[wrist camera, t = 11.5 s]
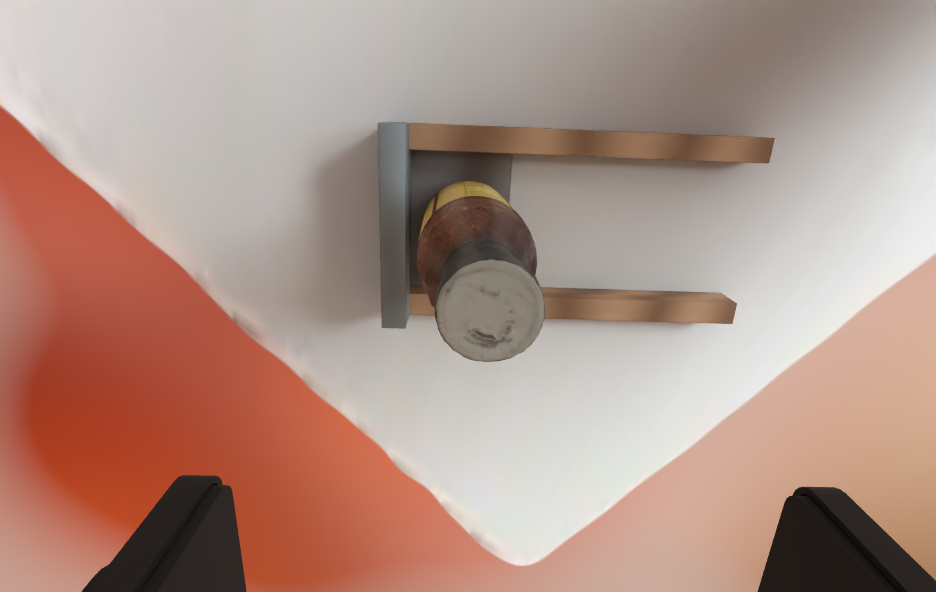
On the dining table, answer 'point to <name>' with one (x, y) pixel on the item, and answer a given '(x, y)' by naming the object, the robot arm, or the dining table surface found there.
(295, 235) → the dining table surface
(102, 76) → the dining table surface
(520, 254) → the sauce bottle
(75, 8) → the dining table surface
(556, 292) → the wooden u-shaped frame
